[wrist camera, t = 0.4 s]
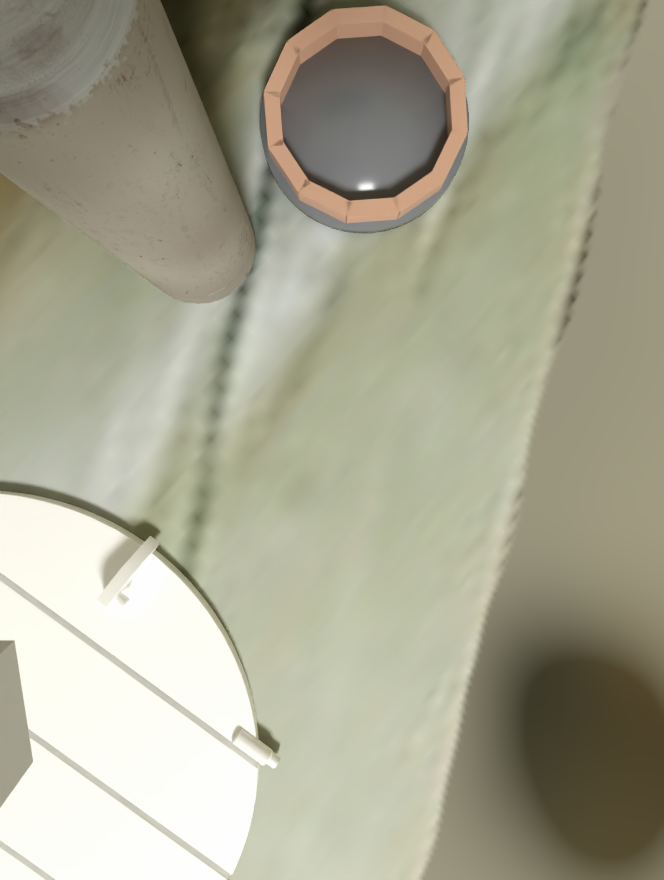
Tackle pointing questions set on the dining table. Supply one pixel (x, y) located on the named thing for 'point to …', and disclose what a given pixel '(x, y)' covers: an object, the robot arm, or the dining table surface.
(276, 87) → the coaster
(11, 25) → the thermos bottle
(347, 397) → the dining table surface
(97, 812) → the lazy susan
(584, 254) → the dining table surface
